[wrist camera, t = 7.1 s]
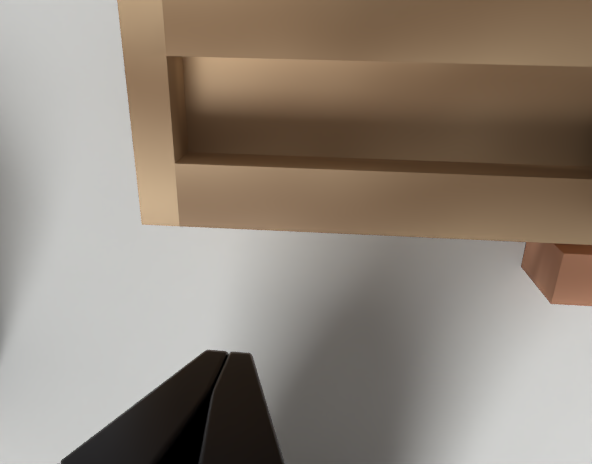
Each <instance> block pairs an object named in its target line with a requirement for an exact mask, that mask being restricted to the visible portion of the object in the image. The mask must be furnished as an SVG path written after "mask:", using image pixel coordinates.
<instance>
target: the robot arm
mask: <svg viewBox="0 0 592 464" xmlns="http://www.w3.org/2000/svg"><path fill="white" fill-rule="evenodd" d="M61 464H285V463H284V460H283V457H282V453H281V450H280V447H279V443H278V440H277V437H276V433H275V430H274V427H273V423H272V420H271V416H270V413H269V410H268V406H267V403H266V400H265V396H264V393H263V390H262V386H261V383H260V380H259V376H258V373H257V370H256V366H255V363H254V360H253V356H252V355H251V354H250V353H243V352H231V353H229V354H228V352H226V351H218V350H206V351H204V352H203V353H202V354H200V355H199V356H198V357H196V358H195V359H194V360H192V361H191V362H190V363H188V364H187V365H186V366H184V367H183V368H182V369H181V370H179V371H178V372H177V373H175V374H174V375H173V376H171V377H170V378H169V379H167V380H166V381H165V382H163V383H162V384H161V385H160V386H158V387H157V388H156V389H154V390H153V391H152V392H150V393H149V394H148V395H146V396H145V397H144V398H142V399H141V400H140V401H139V402H137V403H136V404H135V405H133V406H132V407H131V408H129V409H128V410H127V411H125V412H124V413H123V414H121V415H120V416H119V417H118V418H116V419H115V420H114V421H112V422H111V423H110V424H108V425H107V426H106V427H104V428H103V429H102V430H101V431H99V432H98V433H97V434H95V435H94V436H93V437H91V438H90V439H89V440H87V441H86V442H85V443H83V444H82V445H81V446H80V447H78V448H77V449H76V450H74V451H73V452H72V453H70V454H69V455H68V456H66V457H65V458H64V459H62V461H61Z"/></svg>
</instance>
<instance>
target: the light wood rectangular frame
mask: <svg viewBox="0 0 592 464" xmlns="http://www.w3.org/2000/svg"><path fill="white" fill-rule="evenodd" d="M117 2H118V11H119V20H120V29H121V38H122V48H123V57H124V66H125V75H126V84H127V93H128V102H129V111H130V120H131V130H132V139H133V148H134V157H135V166H136V175H137V184H138V193H139V202H140V212H141V221H142V224H143V225H165V226H187V227H209V228H231V229H253V230H275V231H296V232H318V233H340V234H362V235H384V236H406V237H428V238H450V239H472V240H494V241H516V242H526V247H525V251H524V256H523V260H522V265H521V267H522V268H523V270H524V271H525V272H526V273H527V275H528V276H529V277H530V278H531V280H532V281H533V282H534V283H535V285H536V286H537V287H538V288H539V290H540V291H541V292H542V293H543V295H544V296H545V297H546V298H547V300H548V301H549V302H550V303H551V304H564V305H583V306H592V0H117Z"/></svg>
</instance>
